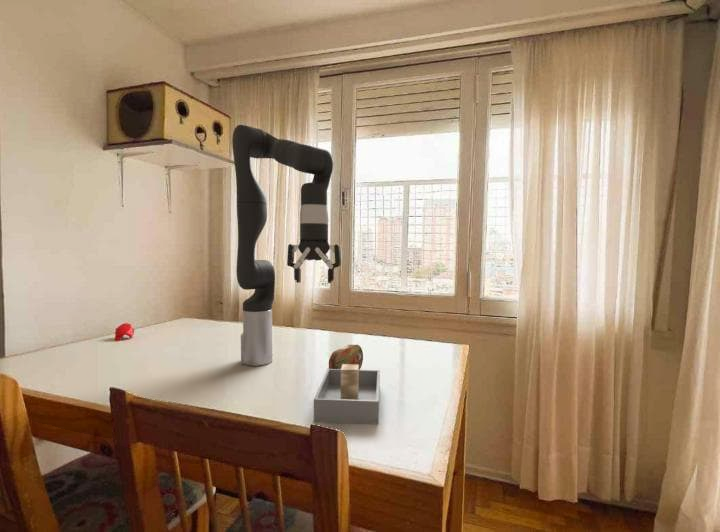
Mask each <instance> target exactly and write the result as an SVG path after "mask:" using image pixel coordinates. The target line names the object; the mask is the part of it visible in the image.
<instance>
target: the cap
mask: <svg viewBox="0 0 720 532" xmlns="http://www.w3.org/2000/svg"><path fill="white" fill-rule="evenodd" d="M114 330H115V332H114V340H115V342H118V341H120V340H121V339H122V338H123V337H124V336H128V337H129V339H132V338H133V337H134V336H133V335H134V334H135V329H134V327H133V326H132V324H130V323H128V322H125V323H122V324H121V325H119V326H117V327H116V328H115V329H114Z"/></svg>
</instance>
